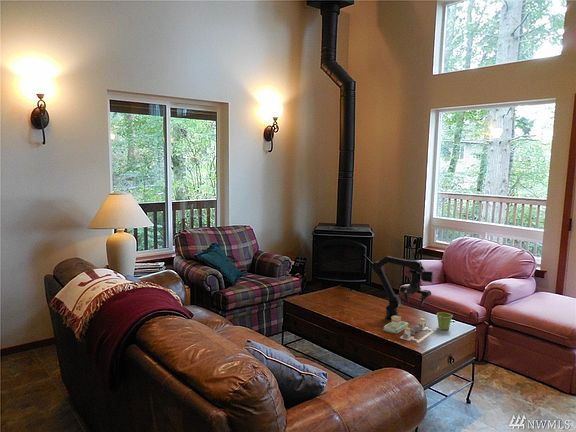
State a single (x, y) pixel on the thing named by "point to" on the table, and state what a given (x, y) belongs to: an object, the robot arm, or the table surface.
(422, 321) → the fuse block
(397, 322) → the block
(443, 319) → the plant pot
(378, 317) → the table surface
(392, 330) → the tray
